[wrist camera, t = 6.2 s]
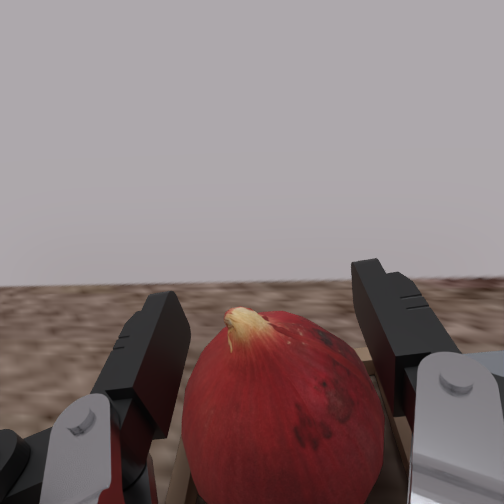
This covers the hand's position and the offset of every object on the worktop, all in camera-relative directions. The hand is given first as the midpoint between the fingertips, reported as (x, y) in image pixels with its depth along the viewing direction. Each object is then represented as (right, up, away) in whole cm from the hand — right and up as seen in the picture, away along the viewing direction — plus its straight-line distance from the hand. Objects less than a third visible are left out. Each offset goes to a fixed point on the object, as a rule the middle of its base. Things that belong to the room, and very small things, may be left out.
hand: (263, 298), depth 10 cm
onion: (+1, -7, +1) cm, 7 cm away
